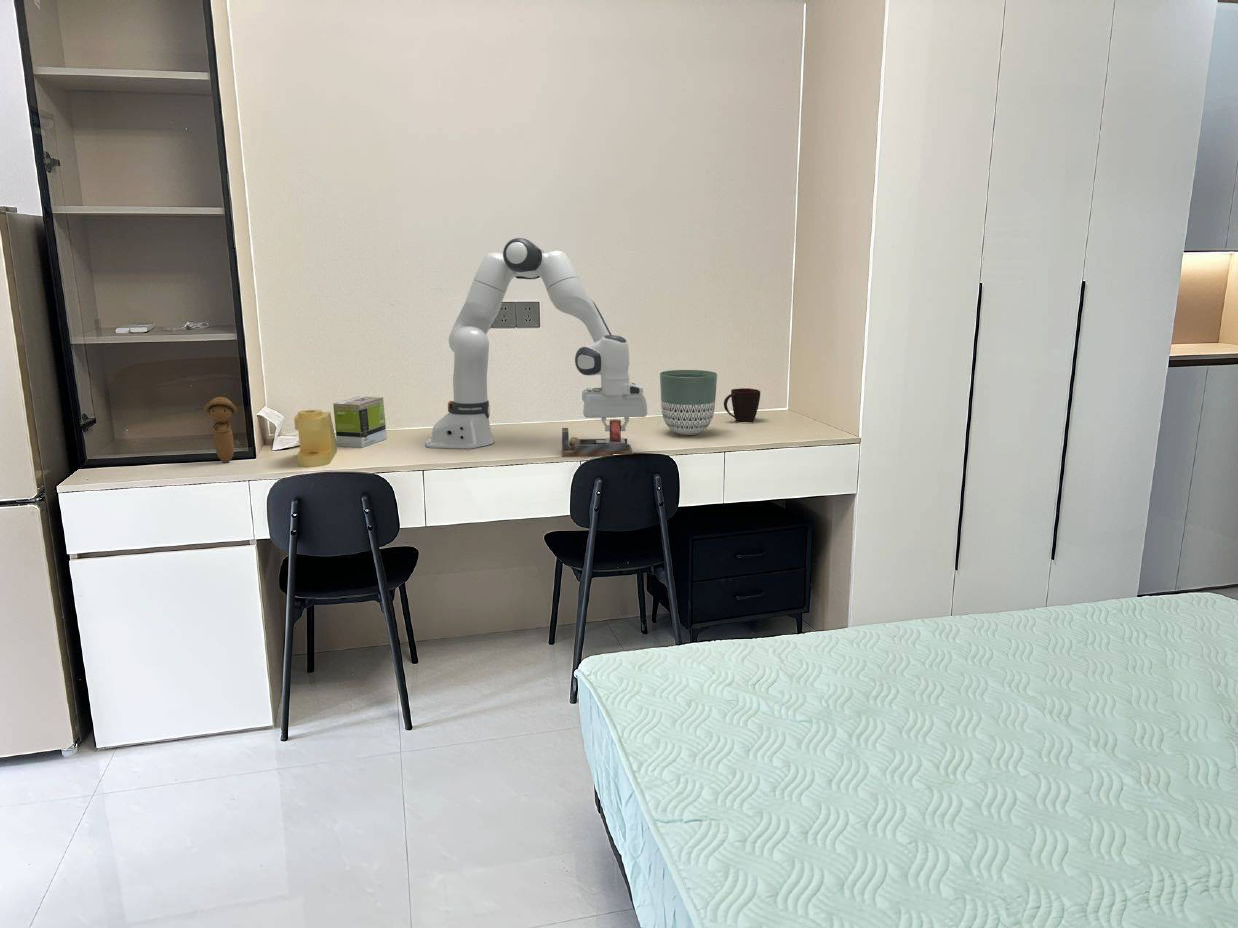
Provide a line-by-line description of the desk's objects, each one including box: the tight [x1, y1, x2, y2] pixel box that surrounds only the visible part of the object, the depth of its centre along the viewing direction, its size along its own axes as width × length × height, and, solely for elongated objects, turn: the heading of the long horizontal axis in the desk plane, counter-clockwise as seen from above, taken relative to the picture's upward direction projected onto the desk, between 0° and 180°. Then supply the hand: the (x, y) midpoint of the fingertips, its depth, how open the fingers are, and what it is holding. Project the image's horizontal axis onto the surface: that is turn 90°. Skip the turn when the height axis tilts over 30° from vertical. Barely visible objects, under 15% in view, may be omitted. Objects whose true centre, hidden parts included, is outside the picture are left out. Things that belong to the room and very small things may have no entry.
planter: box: [659, 369, 718, 436], centre depth 307 cm, size 20×20×21 cm
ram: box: [596, 418, 625, 445], centre depth 279 cm, size 9×7×9 cm
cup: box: [723, 387, 761, 423], centre depth 330 cm, size 10×14×12 cm
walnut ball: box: [569, 436, 580, 446], centre depth 279 cm, size 4×4×4 cm
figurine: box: [203, 396, 238, 463], centre depth 265 cm, size 9×7×20 cm
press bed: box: [561, 427, 634, 458], centre depth 280 cm, size 22×10×8 cm, turn 94°
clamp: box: [293, 409, 338, 468], centre depth 269 cm, size 20×9×16 cm, turn 10°
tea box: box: [332, 396, 387, 449], centre depth 293 cm, size 15×10×15 cm
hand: (615, 431), depth 279 cm, fingers closed on ram, 4 cm apart
